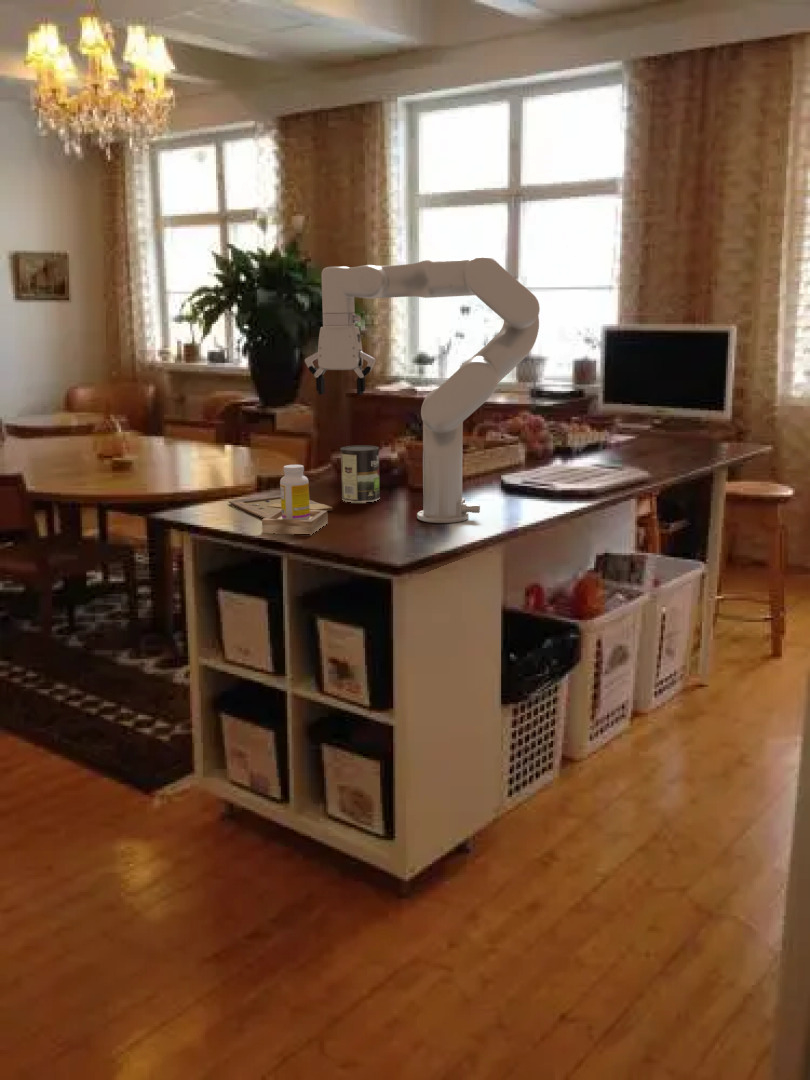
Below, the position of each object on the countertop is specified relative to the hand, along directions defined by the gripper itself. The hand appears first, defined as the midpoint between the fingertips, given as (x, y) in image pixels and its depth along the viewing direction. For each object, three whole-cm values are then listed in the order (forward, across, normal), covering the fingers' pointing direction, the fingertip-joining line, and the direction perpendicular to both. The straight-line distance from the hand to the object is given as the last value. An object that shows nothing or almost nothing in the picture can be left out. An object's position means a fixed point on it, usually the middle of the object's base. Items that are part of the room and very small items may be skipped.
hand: (340, 394), depth 233 cm
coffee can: (+31, +2, -22) cm, 38 cm away
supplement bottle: (+28, +8, +13) cm, 32 cm away
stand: (+30, +8, +13) cm, 34 cm away
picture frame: (+31, +20, -8) cm, 38 cm away
